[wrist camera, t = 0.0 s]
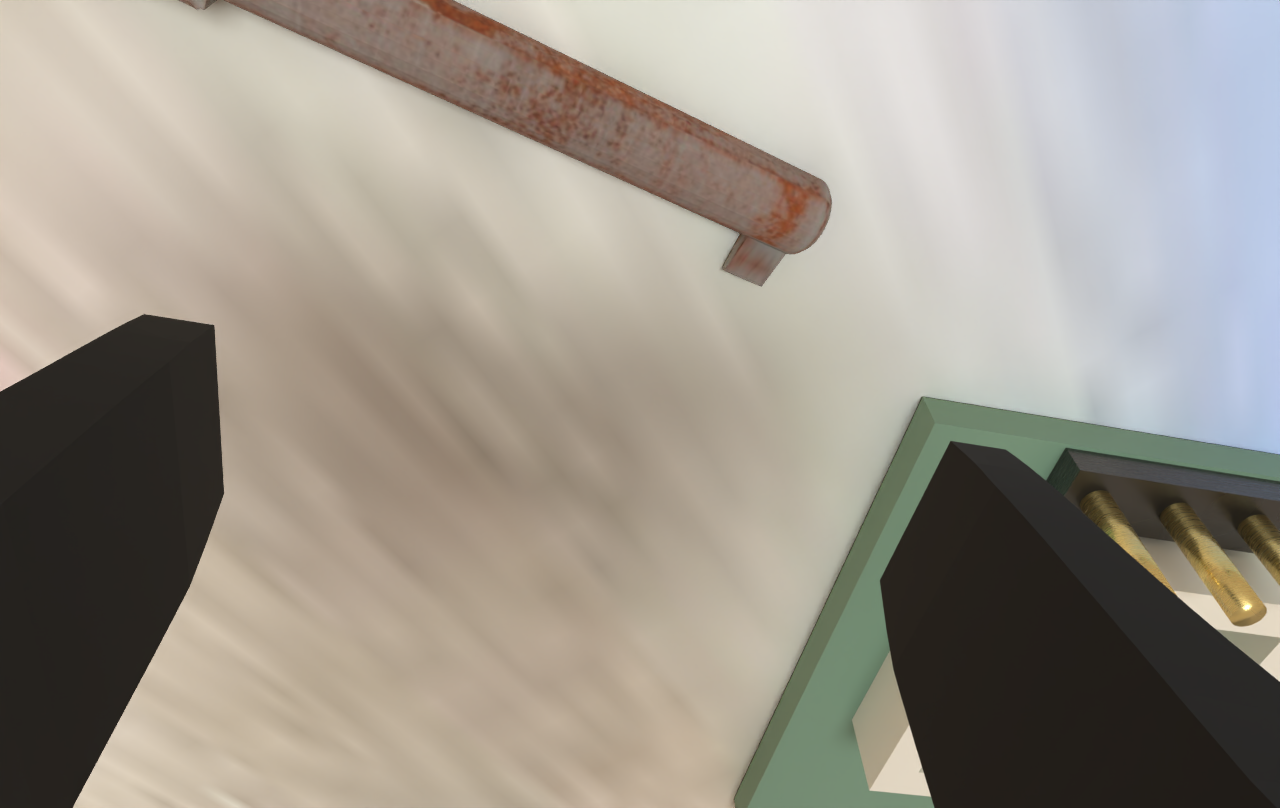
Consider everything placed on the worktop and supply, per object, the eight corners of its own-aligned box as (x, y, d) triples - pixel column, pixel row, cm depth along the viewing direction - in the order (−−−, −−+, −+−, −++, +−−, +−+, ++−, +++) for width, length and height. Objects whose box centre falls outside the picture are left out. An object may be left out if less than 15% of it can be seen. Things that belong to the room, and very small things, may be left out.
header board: (1198, 842, 33) (1212, 870, 32) (734, 798, 31) (737, 827, 30) (1546, 498, 24) (1579, 525, 23) (922, 397, 22) (935, 423, 21)
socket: (1121, 749, 28) (1156, 818, 26) (851, 719, 27) (869, 790, 25) (1291, 546, 23) (1348, 614, 22) (972, 499, 22) (1005, 567, 20)
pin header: (1245, 531, 23) (1344, 656, 20) (1034, 500, 22) (1103, 625, 19) (1284, 482, 22) (1393, 604, 19) (1065, 447, 21) (1143, 569, 18)
